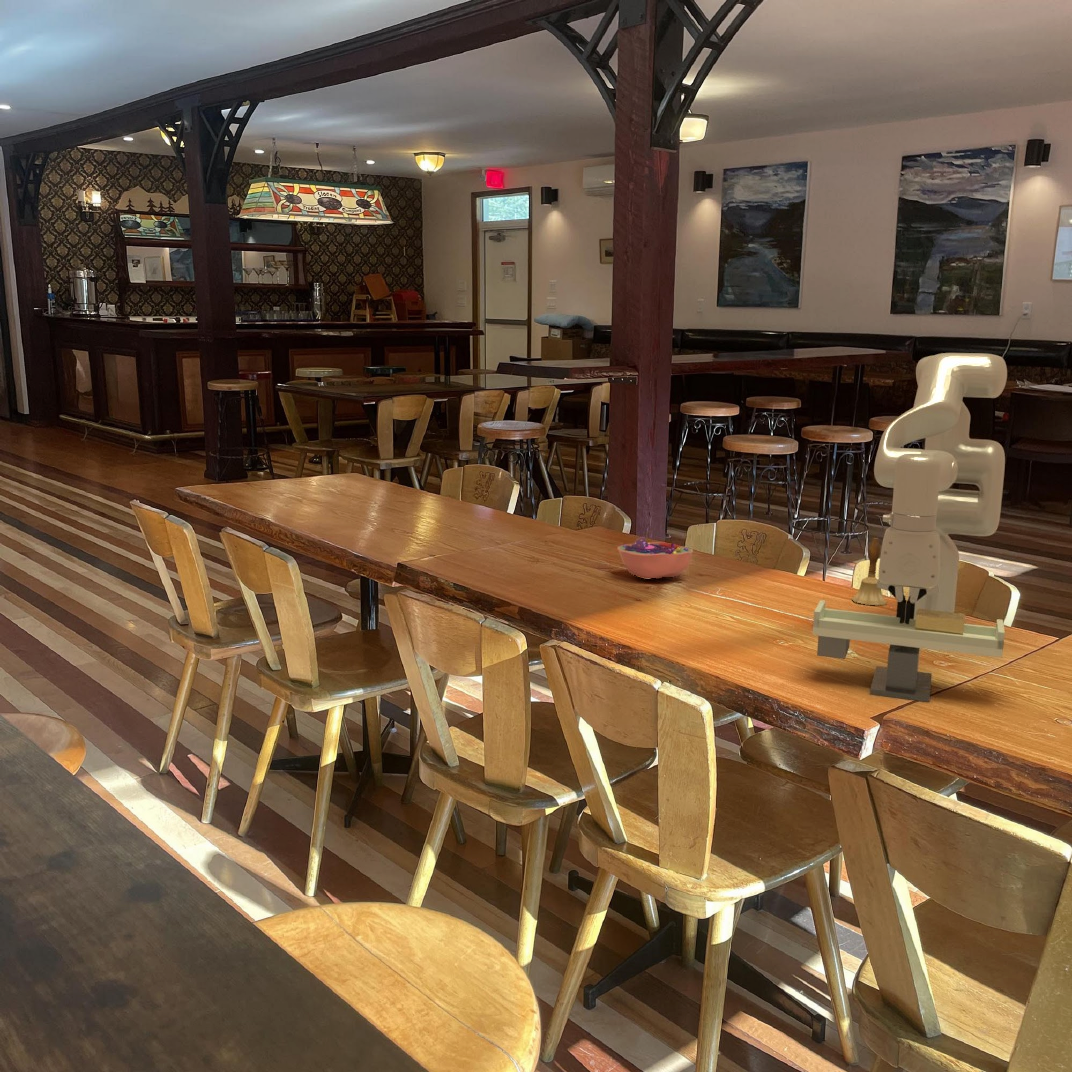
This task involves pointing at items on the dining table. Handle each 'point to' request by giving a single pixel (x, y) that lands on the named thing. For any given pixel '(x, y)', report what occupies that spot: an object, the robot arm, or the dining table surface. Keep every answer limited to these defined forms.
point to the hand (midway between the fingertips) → (904, 621)
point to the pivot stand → (902, 676)
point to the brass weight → (940, 621)
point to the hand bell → (871, 580)
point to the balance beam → (898, 634)
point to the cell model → (655, 558)
